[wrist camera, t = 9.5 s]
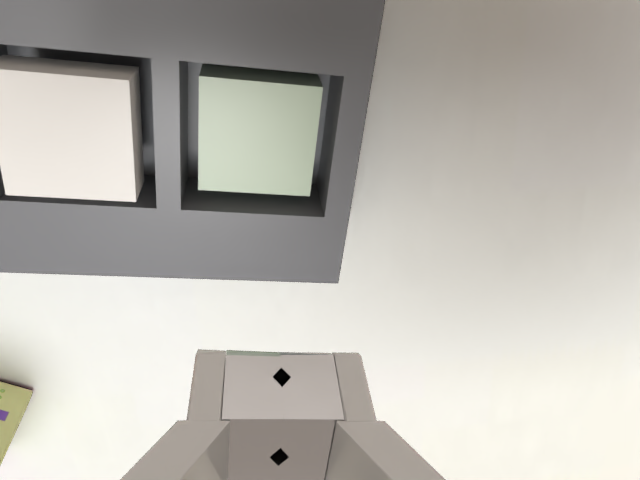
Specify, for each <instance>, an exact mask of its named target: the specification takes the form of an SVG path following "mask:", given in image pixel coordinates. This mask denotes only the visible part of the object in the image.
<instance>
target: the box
mask: <svg viewBox="0 0 640 480" xmlns="http://www.w3.org/2000/svg"><path fill="white" fill-rule="evenodd" d="M32 393H33V391H32V390H29V389H25V388H22V387H18V386H14V385H11V384H7V383H4V382H0V465H1V463H2V461H3V459H4V456H5V454H6V452H7V450H8V447H9V445H10V443H11V441H12V439H13V437H14V434H15V432H16V430H17V428H18V426H19V423H20V421H21V419H22V417H23V415H24V412H25V410H26V408H27V405H28V403H29V401H30V398H31V396H32Z"/></svg>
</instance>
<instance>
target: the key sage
mask: <svg viewBox="0 0 640 480" xmlns="http://www.w3.org/2000/svg"><path fill="white" fill-rule="evenodd" d="M322 93H323V86H322V83H321V81H320V79H319V76H318V75H317V74H306V73H296V72H285V71H274V70H264V69H253V68H242V67H232V66H221V65H210V64H202V67H201V70H200V74H199V123H198V190H207V191H225V192H242V193H259V194H276V195H294V196H310V191H311V183H312V175H313V167H314V158H315V150H316V142H317V134H318V126H319V117H320V109H321V101H322Z"/></svg>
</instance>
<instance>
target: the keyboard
mask: <svg viewBox="0 0 640 480" xmlns="http://www.w3.org/2000/svg"><path fill="white" fill-rule="evenodd" d="M384 4H385V0H0V56H2V55H14V56H25V57H36V58H47V59H58V60H69V61H80V62H91V63H102V64H113V65H124V66H135V67H139V82H140V103H141V123H142V144H143V164H144V183H143V186H142V188H141V191H140V194H139V196H138V199H137V201H136V202H125V201H107V200H88V199H69V198H51V197H32V196H13V195H6V194H5V189H4V184H3V178H2V173H1V168H0V272H8V273H38V274H69V275H99V276H130V277H160V278H190V279H221V280H251V281H281V282H312V283H338V281H339V275H340V269H341V263H342V257H343V251H344V245H345V239H346V233H347V227H348V221H349V215H350V209H351V203H352V197H353V191H354V185H355V179H356V173H357V167H358V161H359V155H360V149H361V143H362V137H363V131H364V125H365V119H366V113H367V107H368V101H369V95H370V89H371V83H372V77H373V71H374V65H375V58H376V52H377V46H378V40H379V34H380V28H381V22H382V16H383V10H384ZM202 64H210V65H221V66H232V67H242V68H253V69H264V70H274V71H285V72H296V73H306V74H317V75H318V76H319V79H320V81H321V83H322V86H323V93H322V101H321V109H320V117H319V126H318V134H317V142H316V150H315V158H314V167H313V175H312V183H311V191H310V196H294V195H276V194H259V193H242V192H225V191H207V190H198V123H199V74H200V70H201V67H202Z"/></svg>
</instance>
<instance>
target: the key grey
mask: <svg viewBox="0 0 640 480" xmlns="http://www.w3.org/2000/svg"><path fill="white" fill-rule="evenodd" d="M0 168H1V173H2V178H3V184H4V189H5V194H6V195H13V196H32V197H51V198H69V199H88V200H107V201H125V202H136V201H137V199H138V196H139V194H140V191H141V188H142V186H143V183H144V164H143V144H142V123H141V103H140V82H139V67H135V66H124V65H113V64H102V63H91V62H80V61H69V60H58V59H47V58H36V57H25V56H14V55H2V56H0Z"/></svg>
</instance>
